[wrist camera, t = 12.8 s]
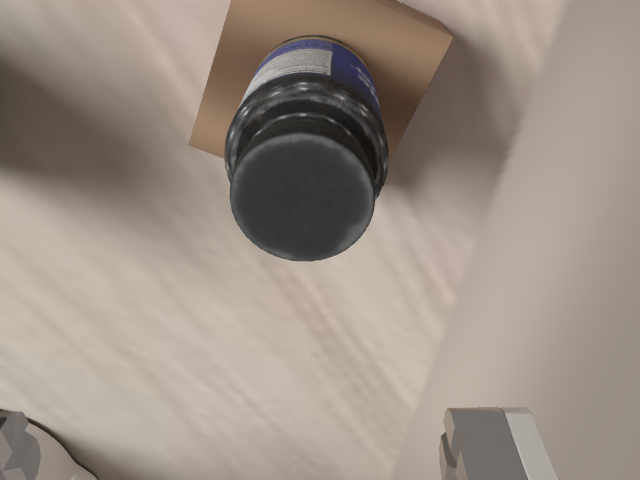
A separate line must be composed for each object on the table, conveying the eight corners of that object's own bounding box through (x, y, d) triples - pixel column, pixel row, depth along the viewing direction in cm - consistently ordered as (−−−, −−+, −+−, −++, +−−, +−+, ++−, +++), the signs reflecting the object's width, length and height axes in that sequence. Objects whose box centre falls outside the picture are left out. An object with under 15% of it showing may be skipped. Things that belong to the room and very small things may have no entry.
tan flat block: (359, 178, 33) (362, 210, 30) (204, 118, 31) (188, 145, 28) (439, 20, 28) (453, 37, 25) (259, -63, 26) (248, -58, 23)
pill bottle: (384, 141, 27) (410, 265, 18) (270, 164, 28) (240, 294, 19) (363, 16, 24) (381, 90, 15) (235, 47, 25) (177, 134, 16)
